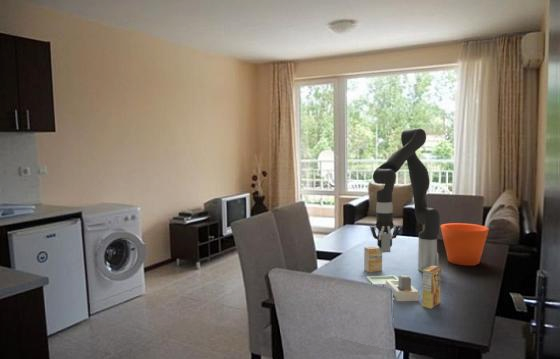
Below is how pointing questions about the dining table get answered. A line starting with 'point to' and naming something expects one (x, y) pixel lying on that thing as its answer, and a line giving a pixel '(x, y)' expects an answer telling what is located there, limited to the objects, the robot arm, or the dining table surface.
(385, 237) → the plug
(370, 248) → the supplement box
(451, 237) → the flowerpot
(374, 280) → the tray
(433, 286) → the candy box
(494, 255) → the dining table surface
